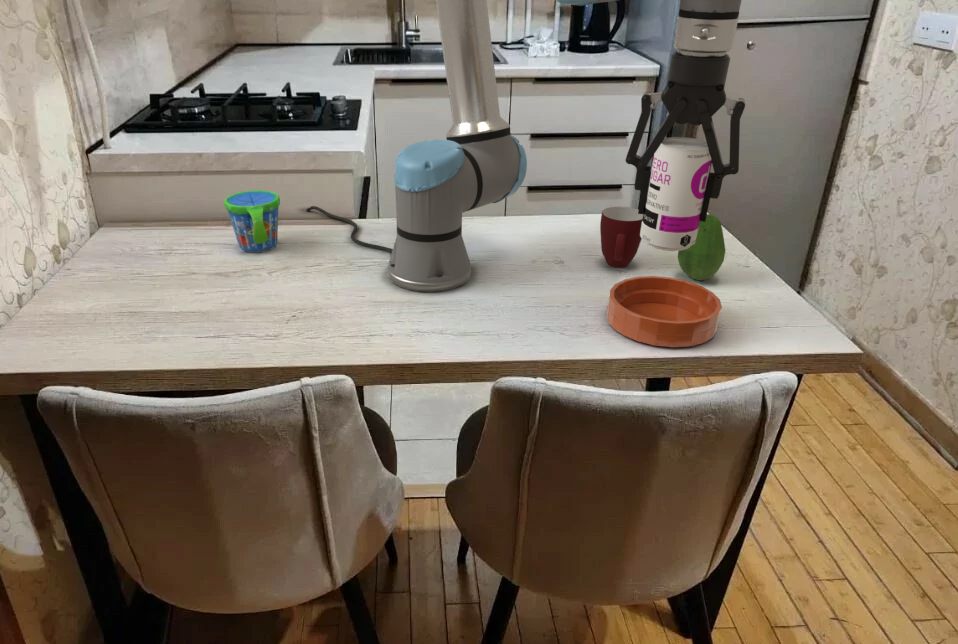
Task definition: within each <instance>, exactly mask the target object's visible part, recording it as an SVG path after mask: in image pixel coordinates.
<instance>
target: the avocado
mask: <svg viewBox="0 0 958 644" xmlns="http://www.w3.org/2000/svg"><path fill="white" fill-rule="evenodd" d="M725 255H726V245H725V239H724V231H723V226H722V223H721V220H720V219H719V218H718V217H717V216H716V215H715V214H714V213H713V214H711V213H707V216H706V221H705V222H703V221H700V223H699V228H698V233H697V238H696V242H695V244H693V245H692V246H690V247H689V248H688V249H685V250H681V251H677V261H678V266H679V267H680V269H681V270H682V271H683V273H684V274H685V275H687V276H688V277H689V278H690V279H693V280H696V281H706V280H708V279H710V278H711V277H713V276H715V275H716V274H717V273H718V271H719V270H720V268H721V266H722V265H723V264H724V263H723V262H724V261H725Z"/></svg>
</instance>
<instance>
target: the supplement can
mask: <svg viewBox="0 0 958 644" xmlns="http://www.w3.org/2000/svg"><path fill="white" fill-rule="evenodd" d="M650 166H651V169H650V176H649V183H648V189H647V195H646V201H645V207H644V213H643V219H642V225H641V231H640V237H641V238H642V239H641V241H643V243H644V244H646V246H649V247H651V248H653V249H656V250H661V251H666V252H667V251H668V252H678V251H681V250H685V249H688V248H689V247H690V246H692V245H693V244H695V242H696V238H697V233H698V228H699V223H700V217H701V212H702V208H703V203H704V198H705V193H706V188H707V183H708V178H709V174H710V172H711V169H712V161H711V156H710V153H709V150H708V146H707V142H706V140H702V139H699V138H693V137H686V136H685V137H683V136H682V137H681V136H672V137H671V136H670V137H665V138H664V140H663V141H662V143H661V144H660V146H659V147H658V149H657V151H656V152H655V153H654V155H653V157H652V158H651V164H650Z"/></svg>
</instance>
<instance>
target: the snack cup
mask: <svg viewBox="0 0 958 644" xmlns="http://www.w3.org/2000/svg"><path fill="white" fill-rule="evenodd" d="M280 204H281V198H280V195H279V194H278V193H277V192H274V191H269V190H261V189H260V190H259V189H257V190H246V191H240V192H236V193H233V194H230V195H228V196H226V197H225V198H224V208H225V209H226V211H227V212H228V215H229V220H230V222H231V224H232V229H233V231H234V234H235V238H236V241H237V244H238V247H239V249H240V250H242V251H243V252H249V253H263V252H268V251H270V250H272V249H273V248H276V247H277V244H278V237H279V236H278V235H279V207H280Z"/></svg>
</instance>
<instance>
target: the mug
mask: <svg viewBox="0 0 958 644" xmlns="http://www.w3.org/2000/svg"><path fill="white" fill-rule="evenodd" d="M638 211H639V208H635V207H630V206H610V207H607V208H606V207H605V208H604V209H603V210H602V211H601V216H600V224H599V229H600V230H599V231H600V232H599V233H600V248H601V252H602V253H601V254H602V256H603V258H604V261H605V263H606V264H607V266H609V267H611V268H615V269H625V268H626V267H628V266H629V265H630V263H631V262H632V261H633V260H634V258H635V257H636V255H637V253H638V250H639V248H640V245H641V242H642V238H641V237H640V231H641V225H642V219H643V214H638Z"/></svg>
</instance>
